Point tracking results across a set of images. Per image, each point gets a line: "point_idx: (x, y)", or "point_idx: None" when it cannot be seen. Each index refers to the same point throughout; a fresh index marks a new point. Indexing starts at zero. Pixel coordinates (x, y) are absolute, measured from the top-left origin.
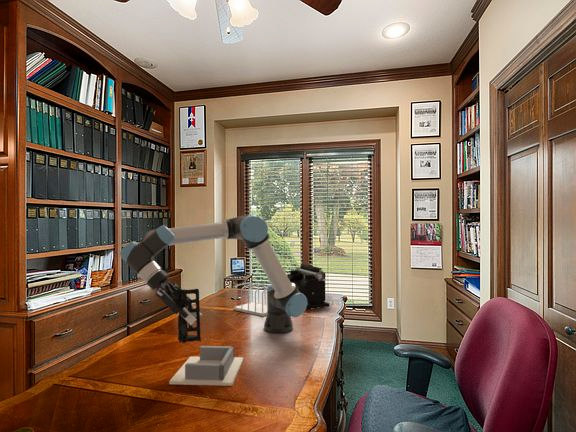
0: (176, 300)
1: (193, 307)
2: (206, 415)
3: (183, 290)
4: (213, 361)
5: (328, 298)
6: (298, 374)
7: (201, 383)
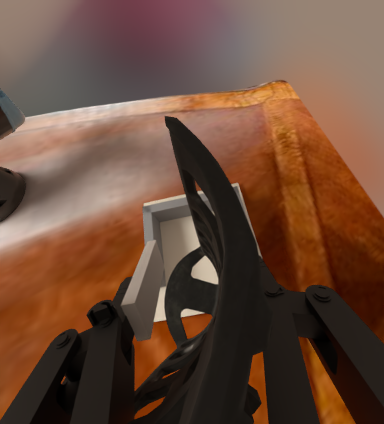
0: (295, 371)
1: (144, 276)
2: (326, 182)
3: (262, 299)
4: (168, 251)
5: None
6: (180, 120)
7: (253, 232)
